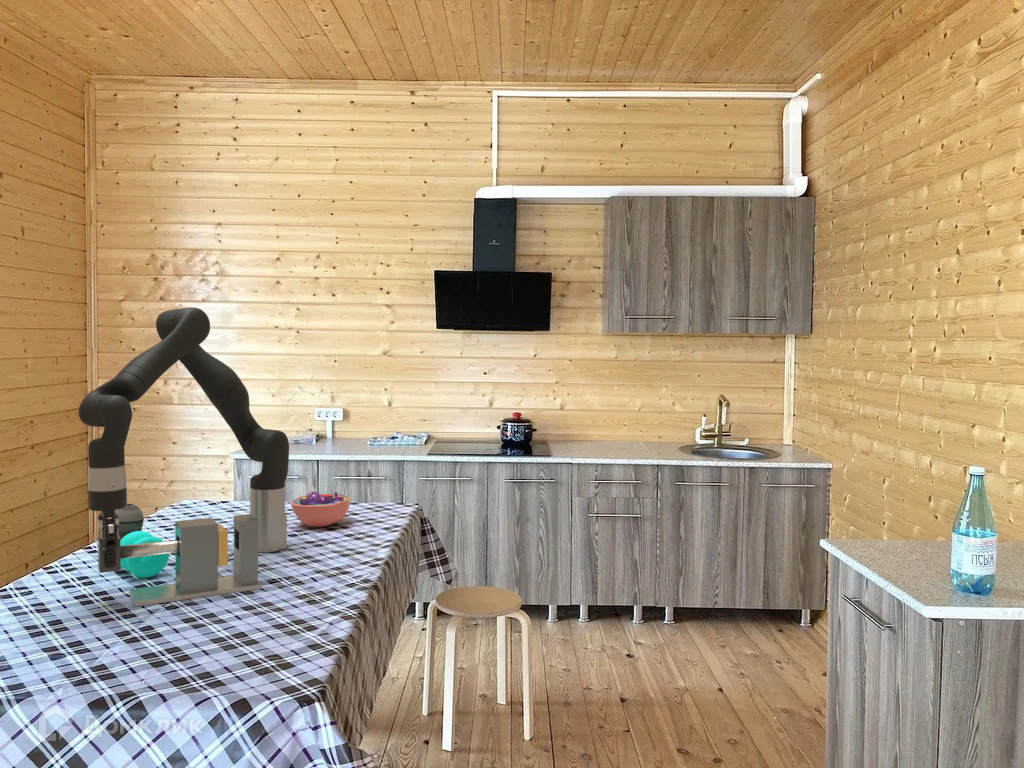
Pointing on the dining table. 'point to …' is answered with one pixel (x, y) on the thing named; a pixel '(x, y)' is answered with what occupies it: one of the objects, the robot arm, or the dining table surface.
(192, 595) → the pillow blocks
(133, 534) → the donuts
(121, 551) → the shaft
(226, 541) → the spacer
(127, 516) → the beverage cup
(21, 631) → the dining table surface
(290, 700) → the dining table surface
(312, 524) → the cell model
